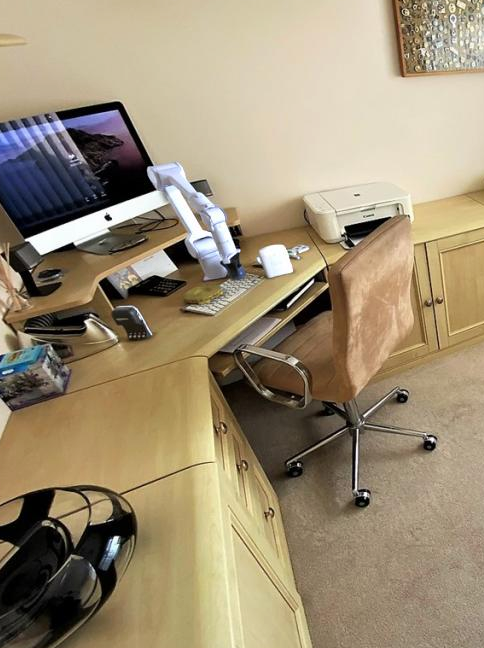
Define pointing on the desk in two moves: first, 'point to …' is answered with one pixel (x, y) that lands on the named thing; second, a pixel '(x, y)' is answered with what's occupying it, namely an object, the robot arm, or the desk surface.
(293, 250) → the robot figure
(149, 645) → the desk surface
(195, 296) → the gold flat disc
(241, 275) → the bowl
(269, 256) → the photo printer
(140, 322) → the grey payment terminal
